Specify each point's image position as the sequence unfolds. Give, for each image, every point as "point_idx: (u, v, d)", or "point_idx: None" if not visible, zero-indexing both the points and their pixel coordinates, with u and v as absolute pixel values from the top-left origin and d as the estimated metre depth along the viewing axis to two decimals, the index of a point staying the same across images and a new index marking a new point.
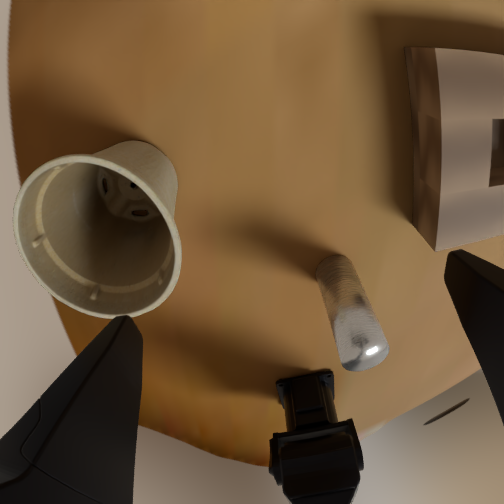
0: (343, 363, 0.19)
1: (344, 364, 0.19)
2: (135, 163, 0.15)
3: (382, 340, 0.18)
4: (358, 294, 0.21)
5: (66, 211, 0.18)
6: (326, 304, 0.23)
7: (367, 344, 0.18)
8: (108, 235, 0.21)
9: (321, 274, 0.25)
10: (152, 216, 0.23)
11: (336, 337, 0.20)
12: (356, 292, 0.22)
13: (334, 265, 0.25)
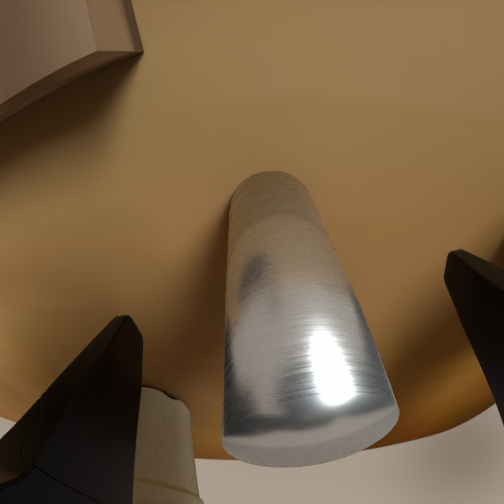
0: (326, 460, 0.06)
1: (330, 458, 0.06)
2: None
3: (234, 424, 0.05)
4: (227, 283, 0.08)
5: None
6: None
7: (244, 447, 0.05)
8: None
9: None
10: (181, 405, 0.20)
11: None
12: (226, 278, 0.09)
13: None
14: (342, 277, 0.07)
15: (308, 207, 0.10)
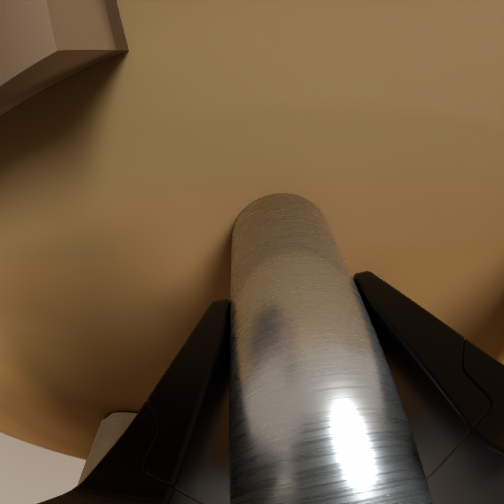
0: None
1: None
2: None
3: None
4: (231, 347, 0.07)
5: None
6: None
7: None
8: None
9: None
10: None
11: None
12: (230, 339, 0.07)
13: None
14: (376, 350, 0.05)
15: (328, 244, 0.08)
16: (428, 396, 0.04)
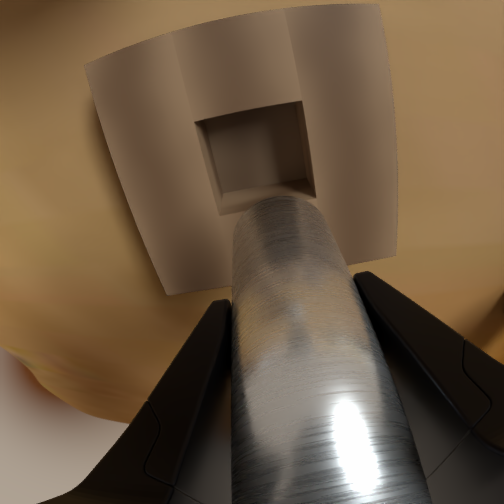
0: None
1: None
2: None
3: None
4: (232, 350, 0.07)
5: None
6: None
7: None
8: None
9: None
10: None
11: None
12: (231, 342, 0.07)
13: None
14: (377, 353, 0.05)
15: (329, 247, 0.08)
16: (428, 396, 0.04)
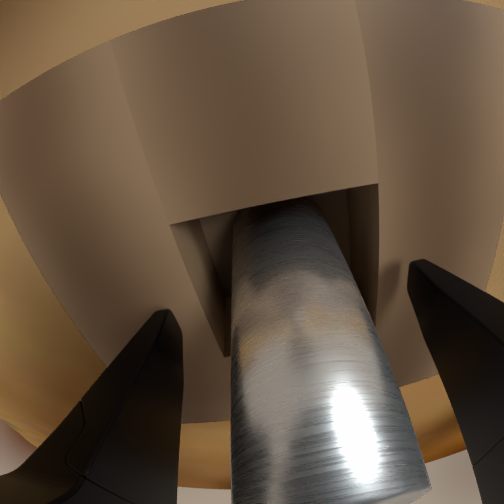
0: None
1: None
2: None
3: None
4: (232, 330, 0.07)
5: None
6: None
7: None
8: None
9: None
10: None
11: None
12: (231, 323, 0.07)
13: None
14: (370, 330, 0.06)
15: (325, 235, 0.08)
16: (499, 367, 0.04)
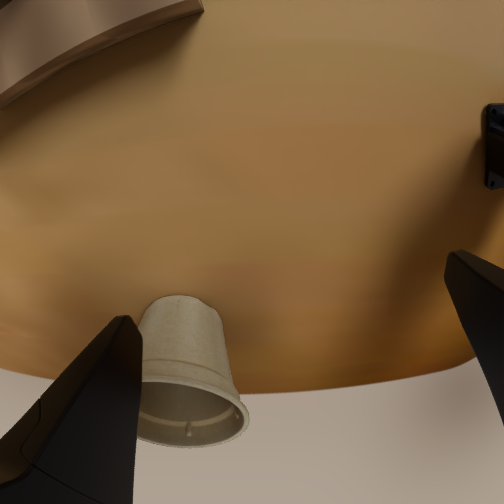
0: None
1: None
2: None
3: None
4: None
5: (187, 392, 0.23)
6: None
7: None
8: None
9: None
10: None
11: None
12: None
13: None
14: None
15: None
16: None
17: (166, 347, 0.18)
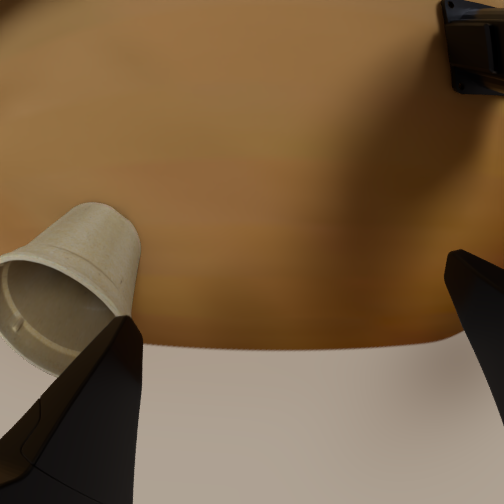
0: None
1: None
2: (16, 263, 0.15)
3: None
4: None
5: (95, 320, 0.19)
6: None
7: None
8: None
9: None
10: None
11: None
12: None
13: None
14: None
15: None
16: None
17: (52, 237, 0.14)
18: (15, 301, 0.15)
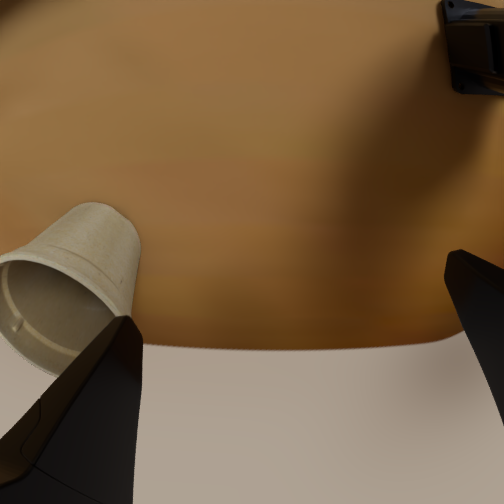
0: None
1: None
2: (16, 263, 0.15)
3: None
4: None
5: (95, 320, 0.19)
6: None
7: None
8: None
9: None
10: None
11: None
12: None
13: None
14: None
15: None
16: None
17: (52, 237, 0.14)
18: (15, 302, 0.15)
